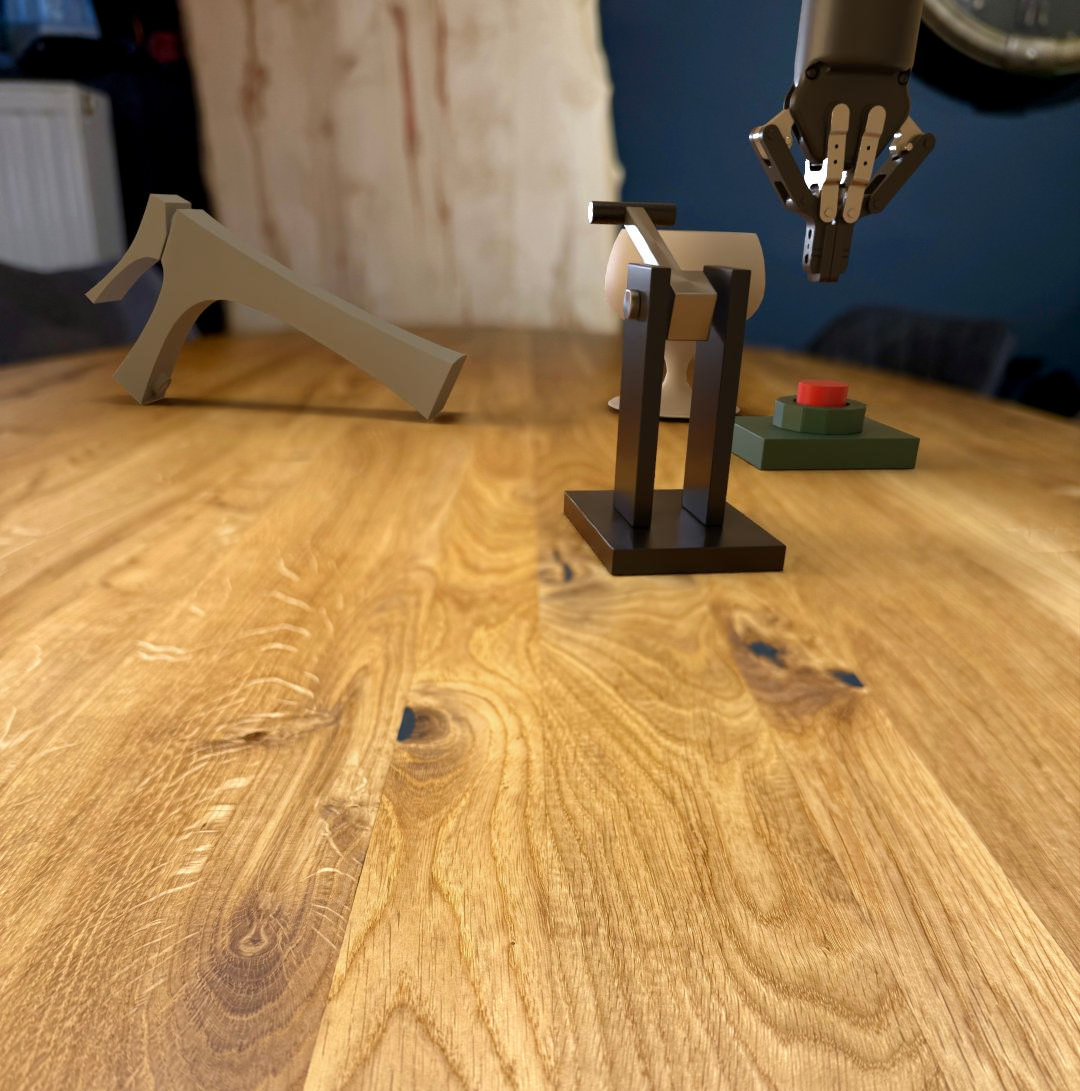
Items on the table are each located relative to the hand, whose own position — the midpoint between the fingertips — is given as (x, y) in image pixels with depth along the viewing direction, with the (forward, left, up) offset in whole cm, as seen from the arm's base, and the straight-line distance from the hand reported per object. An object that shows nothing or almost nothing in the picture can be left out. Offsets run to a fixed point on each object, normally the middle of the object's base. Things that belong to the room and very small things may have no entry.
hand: (822, 281), depth 73 cm
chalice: (+4, -20, -12) cm, 24 cm away
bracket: (+17, +21, -12) cm, 30 cm away
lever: (+17, +15, +1) cm, 23 cm away
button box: (-1, 0, -12) cm, 12 cm away
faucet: (+39, -21, -12) cm, 46 cm away
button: (-1, 0, -9) cm, 9 cm away
